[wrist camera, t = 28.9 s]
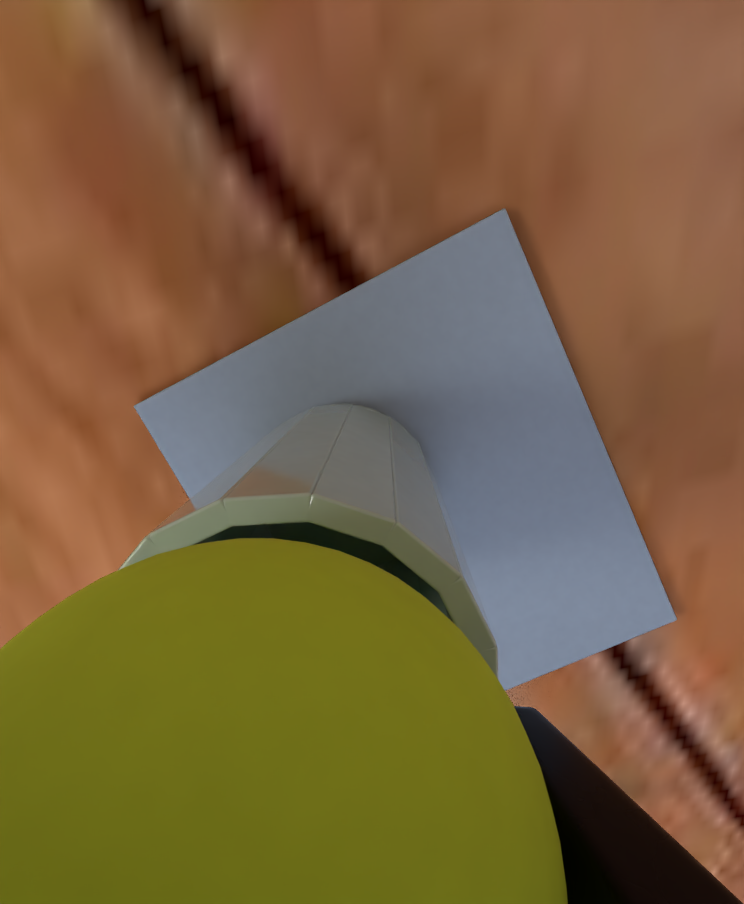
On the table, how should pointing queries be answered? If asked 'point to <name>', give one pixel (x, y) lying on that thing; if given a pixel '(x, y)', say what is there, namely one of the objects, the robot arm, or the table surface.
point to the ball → (263, 743)
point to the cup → (340, 507)
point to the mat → (455, 437)
